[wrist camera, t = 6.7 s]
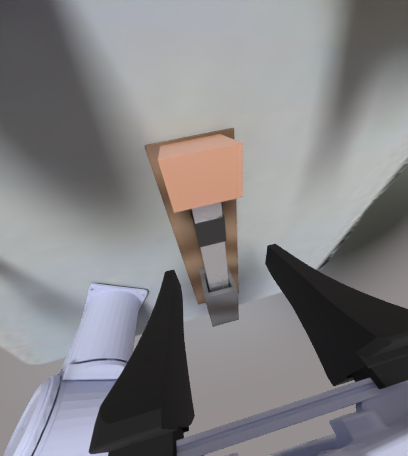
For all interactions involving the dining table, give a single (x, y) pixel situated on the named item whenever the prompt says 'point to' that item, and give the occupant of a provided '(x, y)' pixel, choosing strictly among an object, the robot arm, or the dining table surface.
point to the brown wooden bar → (191, 253)
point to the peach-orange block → (202, 171)
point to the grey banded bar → (212, 243)
